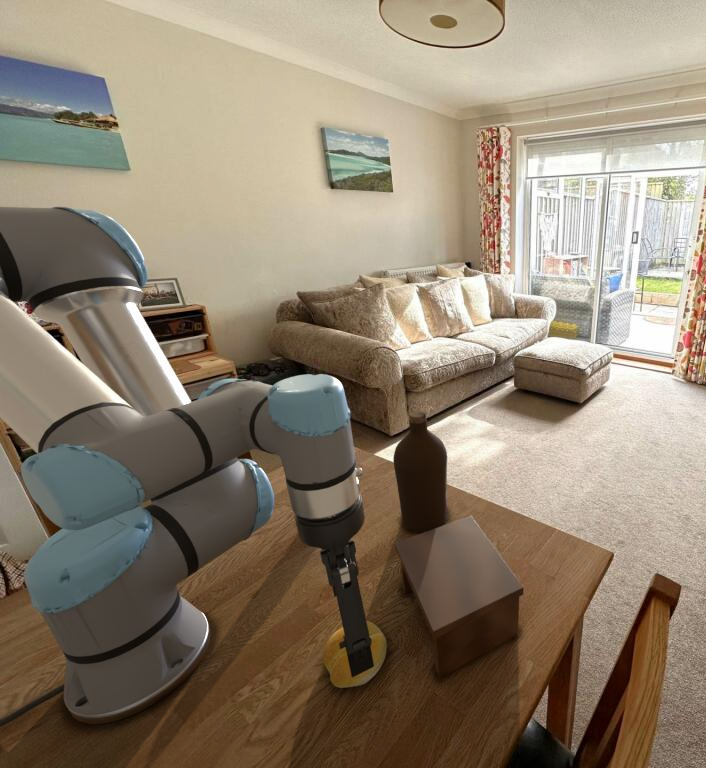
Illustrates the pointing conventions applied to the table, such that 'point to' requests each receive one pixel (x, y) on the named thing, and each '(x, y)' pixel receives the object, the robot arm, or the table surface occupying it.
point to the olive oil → (421, 476)
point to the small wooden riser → (460, 591)
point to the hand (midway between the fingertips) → (352, 626)
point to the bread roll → (338, 658)
